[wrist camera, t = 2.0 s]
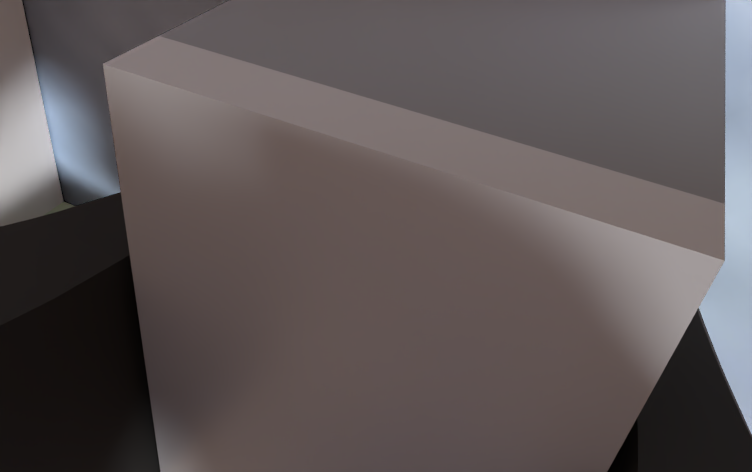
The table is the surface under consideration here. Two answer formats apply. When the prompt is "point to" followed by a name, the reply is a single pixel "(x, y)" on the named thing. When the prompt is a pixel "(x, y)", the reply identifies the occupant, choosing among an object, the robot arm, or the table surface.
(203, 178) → the grey rectangular block
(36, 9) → the table surface
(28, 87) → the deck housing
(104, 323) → the robot arm
